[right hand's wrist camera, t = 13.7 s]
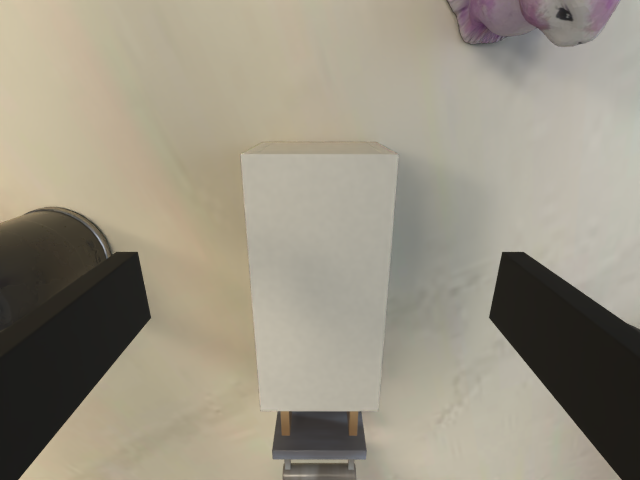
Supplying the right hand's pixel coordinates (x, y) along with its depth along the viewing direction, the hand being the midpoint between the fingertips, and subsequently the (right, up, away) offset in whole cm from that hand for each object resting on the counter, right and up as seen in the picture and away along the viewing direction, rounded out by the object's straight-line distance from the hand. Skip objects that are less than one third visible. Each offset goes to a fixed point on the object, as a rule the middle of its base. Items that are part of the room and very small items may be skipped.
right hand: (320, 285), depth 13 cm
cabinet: (0, 0, +22) cm, 22 cm away
